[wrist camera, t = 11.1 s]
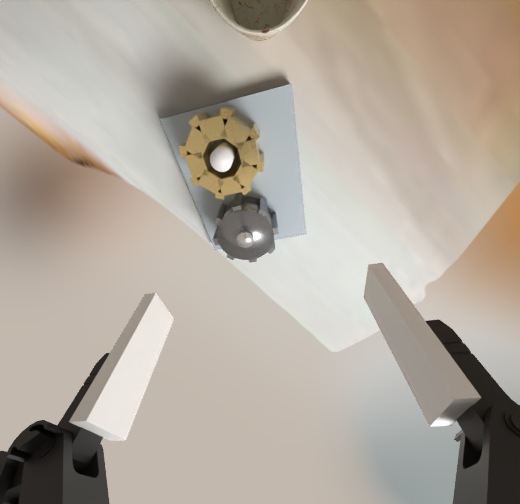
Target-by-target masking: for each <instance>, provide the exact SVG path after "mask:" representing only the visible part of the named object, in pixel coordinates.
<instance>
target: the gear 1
mask: <svg viewBox="0 0 520 504" xmlns="http://www.w3.org/2000/svg"><path fill="white" fill-rule="evenodd" d="M188 123H189V124H190V125H191V127H192V129H191V132H190V134H189V137H188V140H187V141H186V142H185V143H183V144H181V145H180V146H179V149H180V157H185V160H186V162H187V165H188V167H189V170H190V172H191V175H192V177H191V178H190V179H189V180H190V181H191V182H192V183H193V184H194V185H195V186H198V185H200V186H202V187H204V188H206V189H207V190H209V191H211V192H212V193H214V194H215V198H218V199H224V198H225V195H230V194H235V193H239V192H242V194H243V195H245V194H247V193H248V192H250V191H251V187H252V180H253V179H254V177H255V175H256V174H257V172H263V168H264V163H265V161H264V153H260V151H259V146H258V141H257V139H258V138H259V137H260V130H259V129H258V127H257V125H256V124H255V123H254V124H253V125H249V124H248V123H246V122H245V121H244V120H242V119H241V118H240V117H238V116H237V115H236V109H235V108H231V107H224V108H221V110H220V114H219V115H215V116H211V117H209V116H208V115H207V113H206V112H205V113H201V114H198V115H195V116H194V117H193V118H192V119H191V120H190V121H189V122H188ZM223 138H224V139H225V140H227V141H228V142H230V143H231V144H233V145H234V146H236V147H237V148H238V152H239V156H240V160H241V161H240V163H239V164H238V165H236V166H231V167H230V169H229V170H227V171H225V172H219V171H217V170H215V169H214V168H213V167H212V165H211V163H210V156H211V153H212V152H213V151H212V148H211V147H212V145H213V142H214V141H215V140H219V139H223Z"/></svg>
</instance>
